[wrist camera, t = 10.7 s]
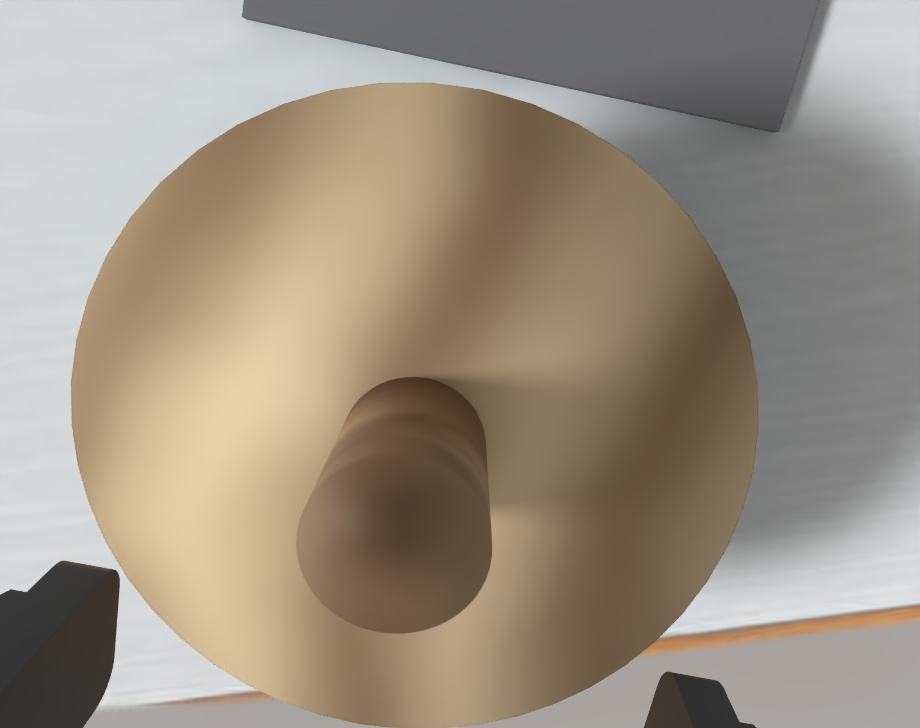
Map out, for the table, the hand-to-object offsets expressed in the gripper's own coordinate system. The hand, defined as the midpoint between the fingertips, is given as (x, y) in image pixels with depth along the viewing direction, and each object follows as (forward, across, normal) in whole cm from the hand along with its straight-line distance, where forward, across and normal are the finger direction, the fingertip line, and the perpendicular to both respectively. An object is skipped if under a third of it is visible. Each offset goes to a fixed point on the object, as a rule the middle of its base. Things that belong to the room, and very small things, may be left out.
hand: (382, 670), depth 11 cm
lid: (+9, 0, 0) cm, 9 cm away
